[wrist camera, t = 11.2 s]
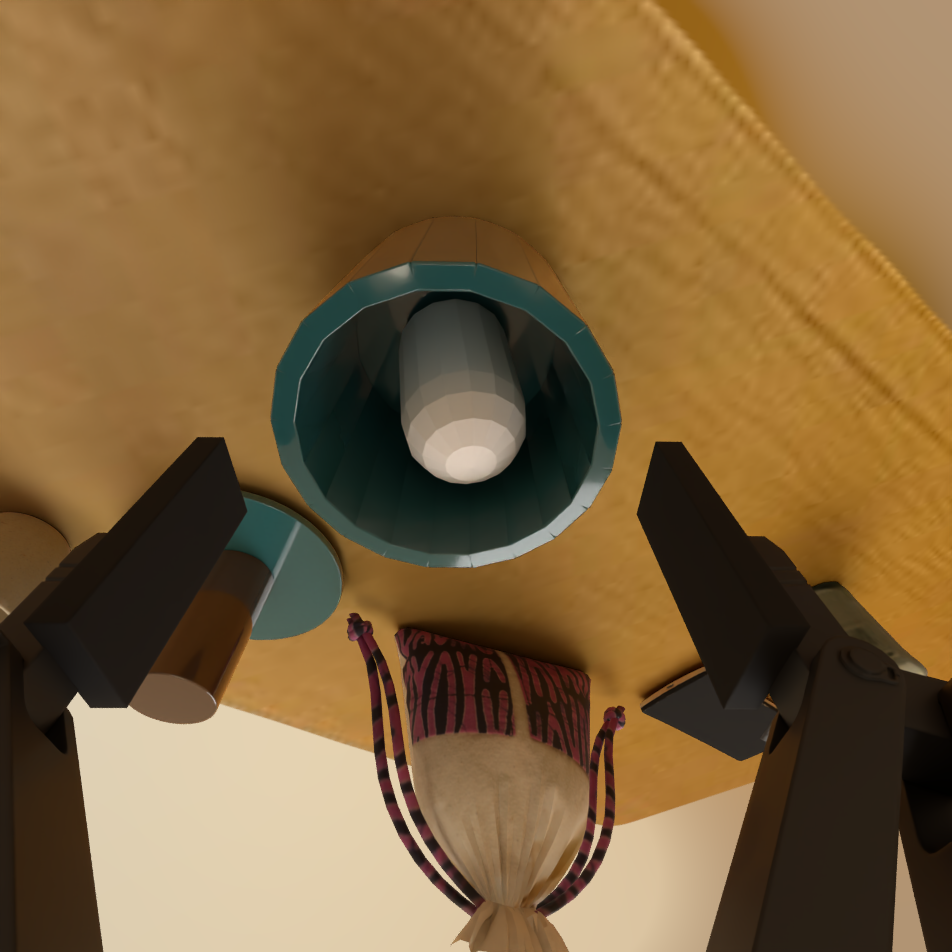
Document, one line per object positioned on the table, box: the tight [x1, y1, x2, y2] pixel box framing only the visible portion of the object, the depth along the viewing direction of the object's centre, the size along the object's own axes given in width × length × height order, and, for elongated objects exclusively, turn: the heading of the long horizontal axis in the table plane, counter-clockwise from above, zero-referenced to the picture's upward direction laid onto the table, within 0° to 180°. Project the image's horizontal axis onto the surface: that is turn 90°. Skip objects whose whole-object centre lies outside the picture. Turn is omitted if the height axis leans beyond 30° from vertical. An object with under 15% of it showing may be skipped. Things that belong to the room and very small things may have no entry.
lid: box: [129, 491, 344, 724], centre depth 30 cm, size 14×14×10 cm
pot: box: [271, 216, 622, 568], centre depth 21 cm, size 12×12×10 cm
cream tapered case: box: [812, 582, 927, 676], centre depth 33 cm, size 6×5×8 cm
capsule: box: [399, 299, 526, 484], centre depth 21 cm, size 5×5×8 cm
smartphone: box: [640, 667, 778, 761], centre depth 44 cm, size 7×1×15 cm
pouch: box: [347, 613, 626, 952], centre depth 32 cm, size 25×8×19 cm, turn 68°
